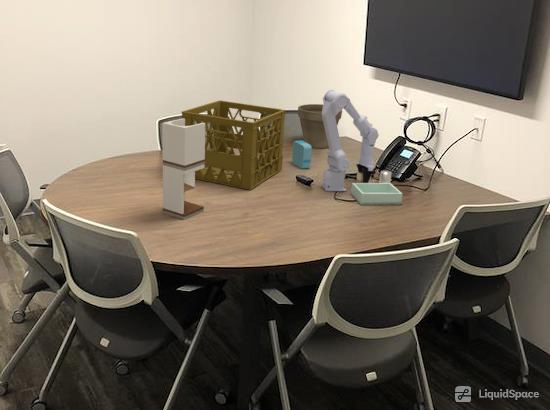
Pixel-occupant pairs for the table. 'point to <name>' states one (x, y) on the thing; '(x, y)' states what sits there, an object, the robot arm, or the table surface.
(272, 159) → the milk crate
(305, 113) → the plant pot
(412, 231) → the table surface
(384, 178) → the metal cylinder
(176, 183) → the notched white pedestal
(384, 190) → the tote
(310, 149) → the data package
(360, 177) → the maple block
